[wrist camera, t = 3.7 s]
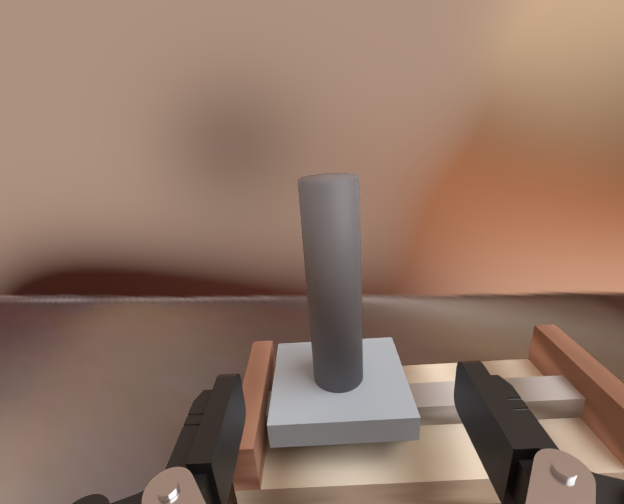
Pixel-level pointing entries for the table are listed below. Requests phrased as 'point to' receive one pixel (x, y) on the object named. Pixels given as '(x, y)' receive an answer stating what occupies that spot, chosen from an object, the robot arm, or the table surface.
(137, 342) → the table surface
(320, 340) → the carriage
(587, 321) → the table surface
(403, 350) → the table surface
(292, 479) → the rail bed
